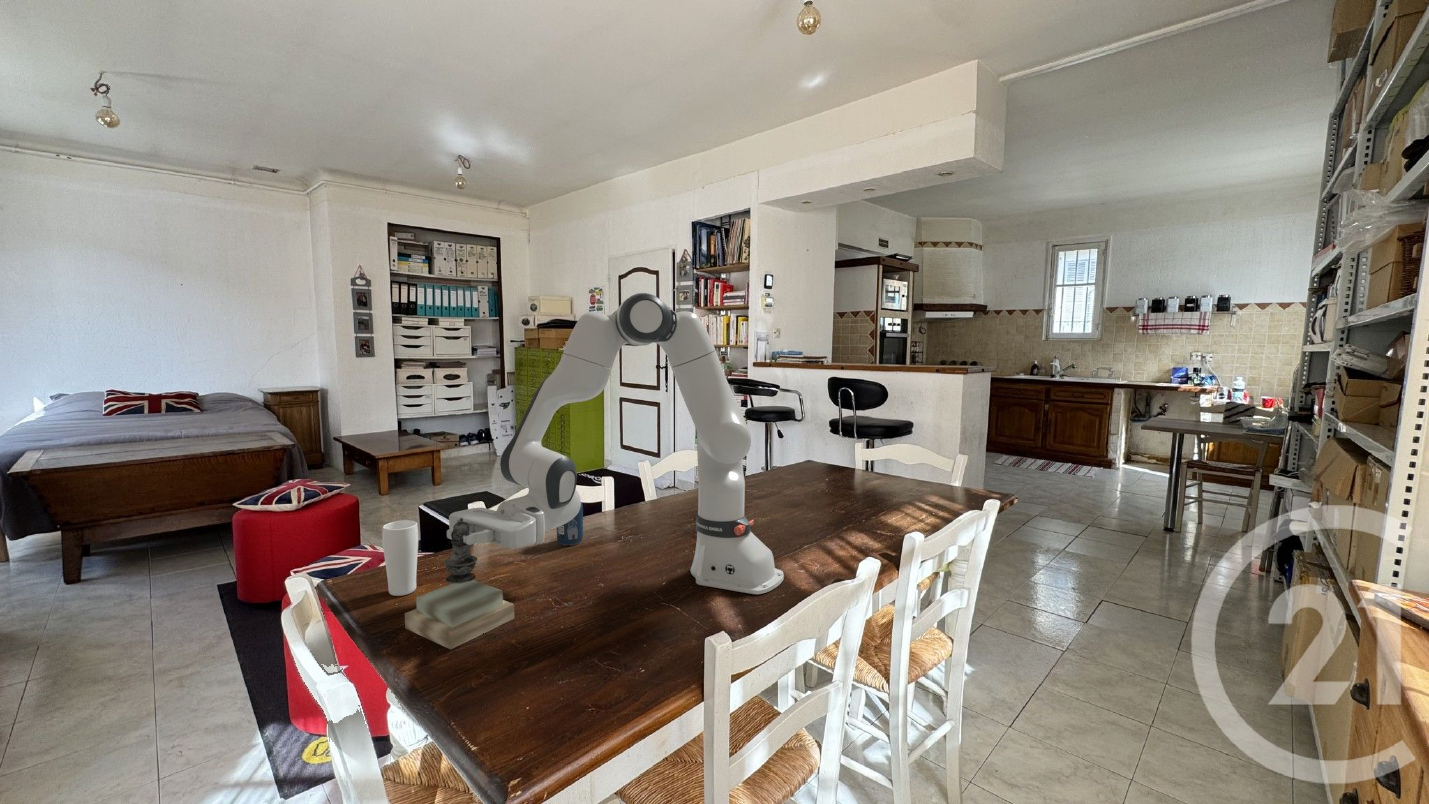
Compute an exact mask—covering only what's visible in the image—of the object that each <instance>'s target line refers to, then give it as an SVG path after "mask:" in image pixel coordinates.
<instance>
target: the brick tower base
mask: <svg viewBox="0 0 1429 804" xmlns="http://www.w3.org/2000/svg"><path fill="white" fill-rule="evenodd" d="M503 593H504V591H503V589H500V588H498V587H494V586H491V585H489V584H486V583H483V582H481V581H477V580H475V579H474V580H472V581H469V582H466V583H458V584H455V583H449V584H447V585H445V586H441V587H439V588H438V589H437V588H436V589H434V590H432V591H428V592H426V593H424V594H421V595H418V596H416V598H415V599H416V602H415V603H416V608H415V609H412V610H410V611H408V612H404V625H405V626H404V629H405V630H408V631H410V632H412V633H414V634H417V635H418V636H421V637H423V638H425V639H427V640H429V641H430V642H434V643H436V644H438V645H440V646H442V647H445V648H447V649H448V650H453V649H455V648H456V647H458V646H461V645H464V644H465V643H467V642H469V641H471V640H473V639H475V638H478V637H479V636H481V635H484V634H485V633H488V632H490V631H491V630H494V629H496V628H498V627H500V626H502V625H504V624H506V623H508V622H510V621H513V620H514V619H515V604H514V603H512V602H511V601H510V602H509V601H507V600H504V595H503ZM483 633H484V634H483Z"/></svg>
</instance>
